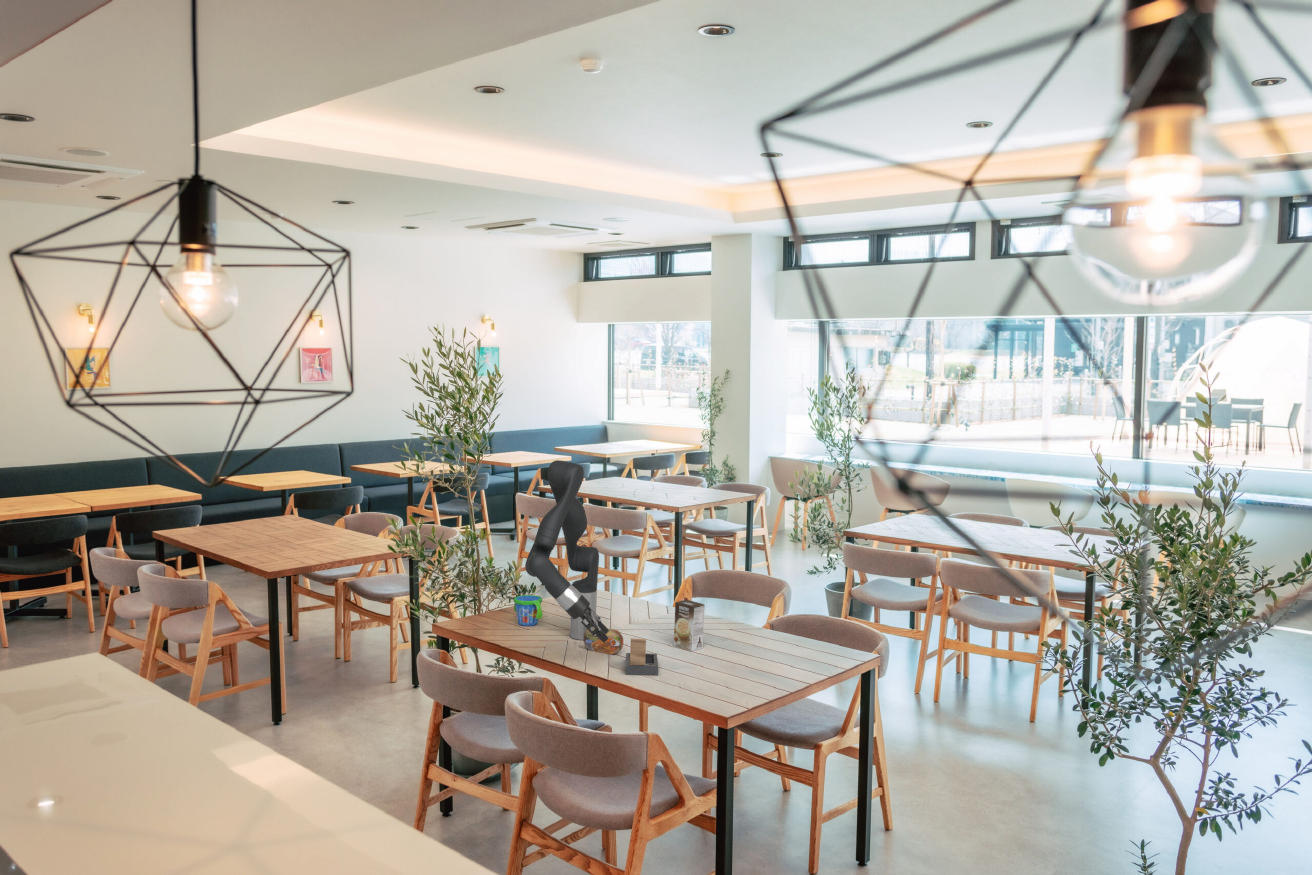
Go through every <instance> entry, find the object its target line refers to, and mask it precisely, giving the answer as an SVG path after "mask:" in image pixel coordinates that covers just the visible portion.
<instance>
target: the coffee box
mask: <svg viewBox="0 0 1312 875" xmlns="http://www.w3.org/2000/svg"><path fill="white" fill-rule="evenodd" d="M674 603H675V604H674V627H673V628H674V629H673V630H674V632H673V647H677V648H680V649H683V650H686V651H690V652H694V651H699V650H702V649H703V647H704V645H703V644H704V643H703V641H704V624H705V604H704V603H702V602H701V603H700V602H697V601H695V600H694V601H693V600H691V599H682V600H679V601H675V602H674Z"/></svg>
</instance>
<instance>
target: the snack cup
mask: <svg viewBox="0 0 1312 875" xmlns="http://www.w3.org/2000/svg"><path fill="white" fill-rule="evenodd" d="M513 602H514V605H513V610H514V612H516V613H515V614H516V620H517V624H518V625H519V626H523V627H531V626H534V625H537V624H538V622H539V620H540V619H542V618H543V610H542V605H541V604H542V602H543V598H542V597H541V596H539V595H533V594H525V595H518V596H514V598H513Z"/></svg>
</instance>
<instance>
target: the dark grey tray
mask: <svg viewBox="0 0 1312 875" xmlns="http://www.w3.org/2000/svg"><path fill="white" fill-rule="evenodd" d="M658 660H659V659H658V653H650V652H649V653H647V652H646V657H645V665H630V652H626V653H625V676H657V677H658V676H659V661H658Z"/></svg>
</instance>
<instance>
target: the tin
mask: <svg viewBox="0 0 1312 875" xmlns="http://www.w3.org/2000/svg"><path fill="white" fill-rule="evenodd" d="M608 629H609V632H608V633H607V634H606V635H607V637H608V640H607V641H606V642H602V641H601V640H600V639H599V638H598V637H597V636H596V635H592V633H591V632H590V631H589V630H588V629H587V630H586V631H585V633H584V637H583V640H582V641H583V643H584V646H585V647H586V649H587V650H589V651H590V652H594V651H595V653H599V654H606V655H615V654H617V653H619V652H621V650H622V649H623V647H624V637H623V635H622V633H621V632H620V631H618V630H617V629H615V628H614V629H613V628H608ZM593 630H595V628H594V629H593Z"/></svg>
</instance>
